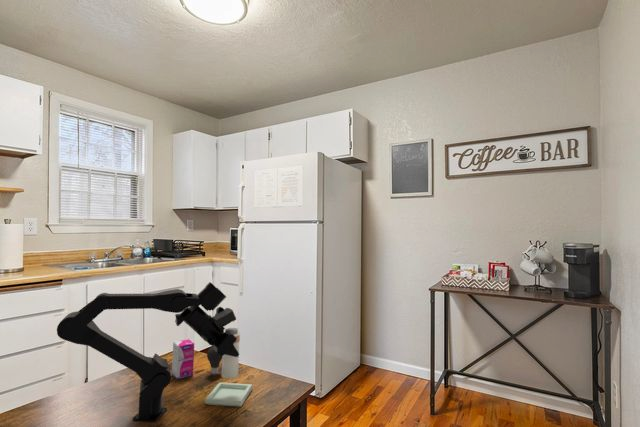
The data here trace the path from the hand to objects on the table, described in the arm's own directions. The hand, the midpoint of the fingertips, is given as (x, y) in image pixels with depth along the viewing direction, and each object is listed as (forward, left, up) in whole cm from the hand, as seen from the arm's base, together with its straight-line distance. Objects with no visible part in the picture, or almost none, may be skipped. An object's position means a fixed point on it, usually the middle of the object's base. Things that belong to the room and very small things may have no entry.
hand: (234, 352), depth 109 cm
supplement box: (+12, +23, -13) cm, 29 cm away
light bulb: (+14, +12, -13) cm, 23 cm away
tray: (-1, +1, -13) cm, 13 cm away
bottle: (-1, +1, -7) cm, 7 cm away
